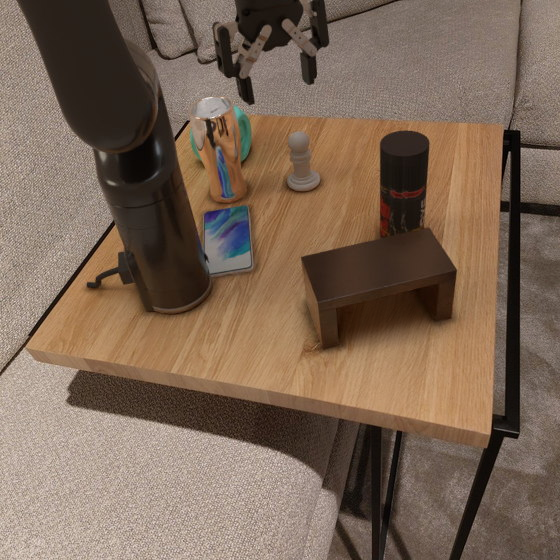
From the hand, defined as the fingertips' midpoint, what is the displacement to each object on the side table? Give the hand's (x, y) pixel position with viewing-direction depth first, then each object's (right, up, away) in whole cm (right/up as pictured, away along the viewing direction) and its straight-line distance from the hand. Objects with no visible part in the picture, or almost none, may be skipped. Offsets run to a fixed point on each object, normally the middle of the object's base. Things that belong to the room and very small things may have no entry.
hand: (279, 92), depth 76 cm
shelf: (+12, -28, -3) cm, 31 cm away
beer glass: (-8, -10, +19) cm, 23 cm away
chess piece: (+4, -9, +18) cm, 21 cm away
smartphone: (-8, -19, +10) cm, 23 cm away
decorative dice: (-9, -3, +27) cm, 29 cm away
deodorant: (+17, -18, +6) cm, 26 cm away
